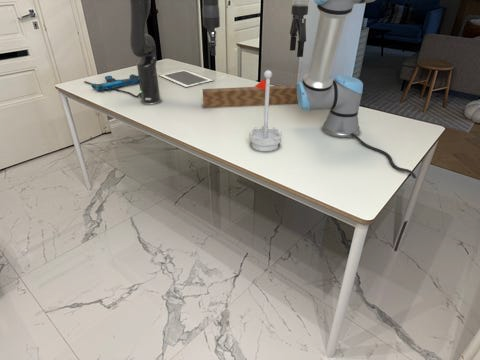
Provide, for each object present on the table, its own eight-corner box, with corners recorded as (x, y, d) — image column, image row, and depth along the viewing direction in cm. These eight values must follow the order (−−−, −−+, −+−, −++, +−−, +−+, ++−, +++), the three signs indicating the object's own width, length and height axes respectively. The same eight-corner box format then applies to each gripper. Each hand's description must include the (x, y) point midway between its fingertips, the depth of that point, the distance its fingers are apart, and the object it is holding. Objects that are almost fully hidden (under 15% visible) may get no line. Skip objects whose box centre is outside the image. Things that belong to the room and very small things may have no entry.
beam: (299, 100, 182) (300, 84, 178) (301, 103, 179) (302, 87, 174) (203, 104, 177) (202, 89, 172) (203, 107, 173) (202, 91, 169)
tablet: (159, 75, 221) (159, 75, 220) (185, 70, 232) (185, 69, 231) (186, 87, 200) (186, 86, 200) (213, 80, 211) (213, 80, 211)
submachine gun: (136, 68, 224) (154, 75, 207) (137, 74, 226) (155, 81, 209) (84, 79, 205) (99, 86, 189) (85, 85, 207) (100, 93, 190)
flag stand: (272, 135, 145) (276, 64, 129) (286, 149, 135) (292, 73, 119) (244, 140, 141) (244, 67, 125) (256, 154, 131) (258, 77, 115)
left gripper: (202, 13, 158) (204, 50, 167) (203, 18, 146) (205, 57, 155) (218, 13, 159) (219, 49, 168) (220, 17, 147) (221, 56, 156)
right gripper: (285, 2, 165) (282, 48, 176) (299, 8, 144) (295, 59, 156) (300, 2, 166) (296, 47, 177) (316, 8, 145) (311, 59, 156)
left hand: (212, 53), depth 161 cm, fingers open, 8 cm apart
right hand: (296, 53), depth 166 cm, fingers open, 13 cm apart
